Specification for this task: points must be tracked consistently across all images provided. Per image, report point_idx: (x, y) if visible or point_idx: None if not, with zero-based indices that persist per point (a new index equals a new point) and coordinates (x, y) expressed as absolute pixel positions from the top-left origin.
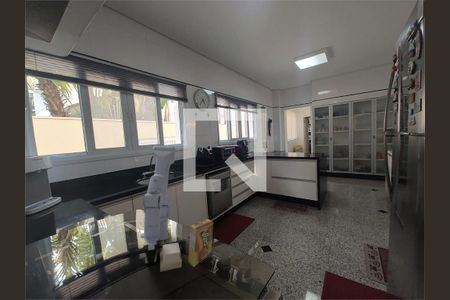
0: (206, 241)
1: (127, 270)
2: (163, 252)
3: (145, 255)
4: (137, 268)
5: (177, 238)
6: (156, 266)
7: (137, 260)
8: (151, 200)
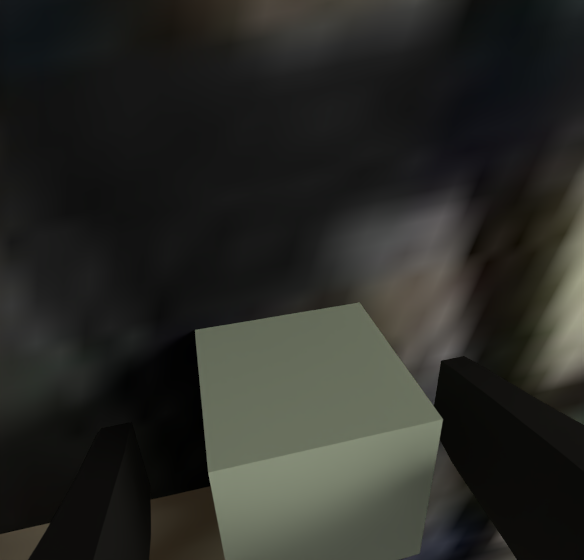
0: None
1: (29, 55)
2: None
3: (206, 438)
4: (81, 241)
5: None
6: None
7: (296, 198)
8: None
